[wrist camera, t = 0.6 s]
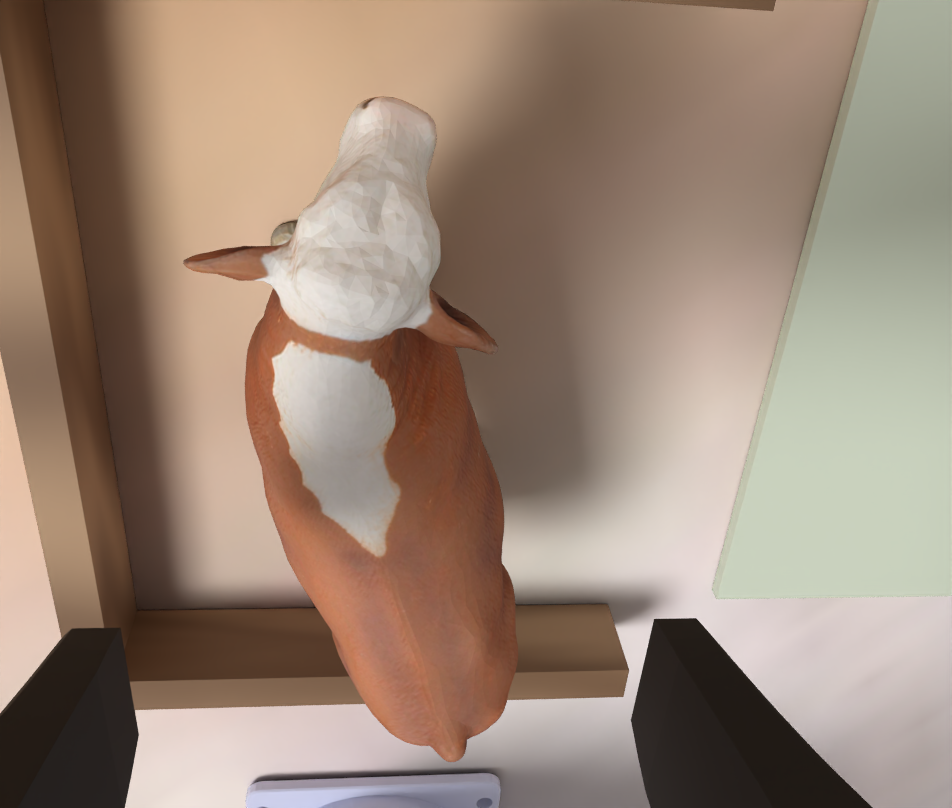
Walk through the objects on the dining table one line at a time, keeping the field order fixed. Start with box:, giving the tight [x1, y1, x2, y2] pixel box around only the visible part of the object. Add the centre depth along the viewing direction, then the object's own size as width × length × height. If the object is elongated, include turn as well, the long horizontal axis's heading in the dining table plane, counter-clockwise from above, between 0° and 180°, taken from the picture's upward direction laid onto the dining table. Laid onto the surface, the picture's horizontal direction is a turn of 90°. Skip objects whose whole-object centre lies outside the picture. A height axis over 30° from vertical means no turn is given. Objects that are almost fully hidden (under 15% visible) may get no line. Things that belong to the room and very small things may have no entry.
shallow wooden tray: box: [0, 0, 776, 710], centre depth 20 cm, size 18×14×2 cm
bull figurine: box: [183, 97, 518, 762], centre depth 17 cm, size 4×13×8 cm, turn 5°
